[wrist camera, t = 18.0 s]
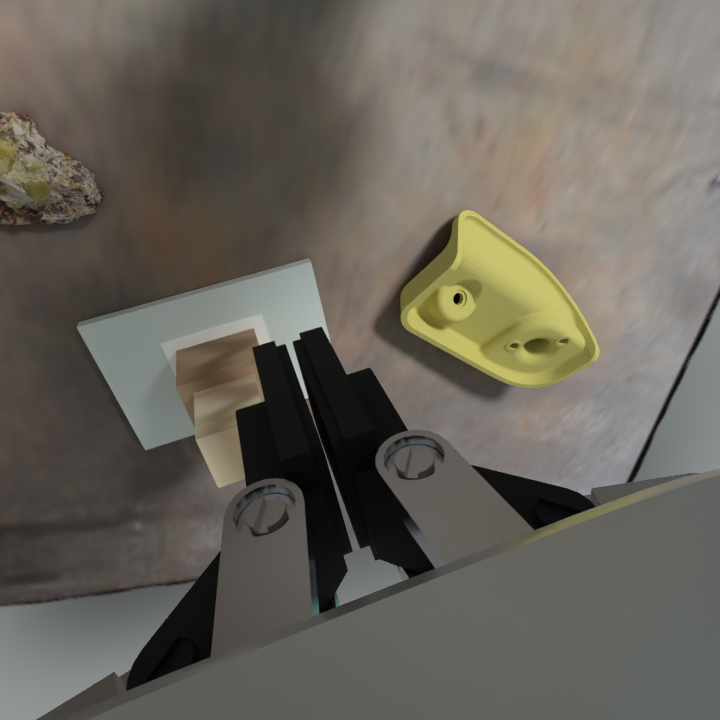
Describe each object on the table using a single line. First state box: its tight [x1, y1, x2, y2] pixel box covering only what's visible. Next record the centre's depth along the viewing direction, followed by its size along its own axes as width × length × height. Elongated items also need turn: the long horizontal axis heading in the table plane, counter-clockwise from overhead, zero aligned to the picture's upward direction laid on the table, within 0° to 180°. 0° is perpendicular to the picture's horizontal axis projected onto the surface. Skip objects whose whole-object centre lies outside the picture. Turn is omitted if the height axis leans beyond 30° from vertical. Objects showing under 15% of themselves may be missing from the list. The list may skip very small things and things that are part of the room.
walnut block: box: [176, 328, 265, 427], centre depth 45 cm, size 7×7×6 cm
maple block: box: [194, 374, 264, 488], centre depth 40 cm, size 5×5×6 cm
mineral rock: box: [0, 112, 104, 226], centre depth 36 cm, size 11×4×8 cm
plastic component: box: [400, 210, 600, 388], centre depth 52 cm, size 20×8×10 cm
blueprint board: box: [77, 258, 331, 450], centre depth 47 cm, size 20×14×1 cm
